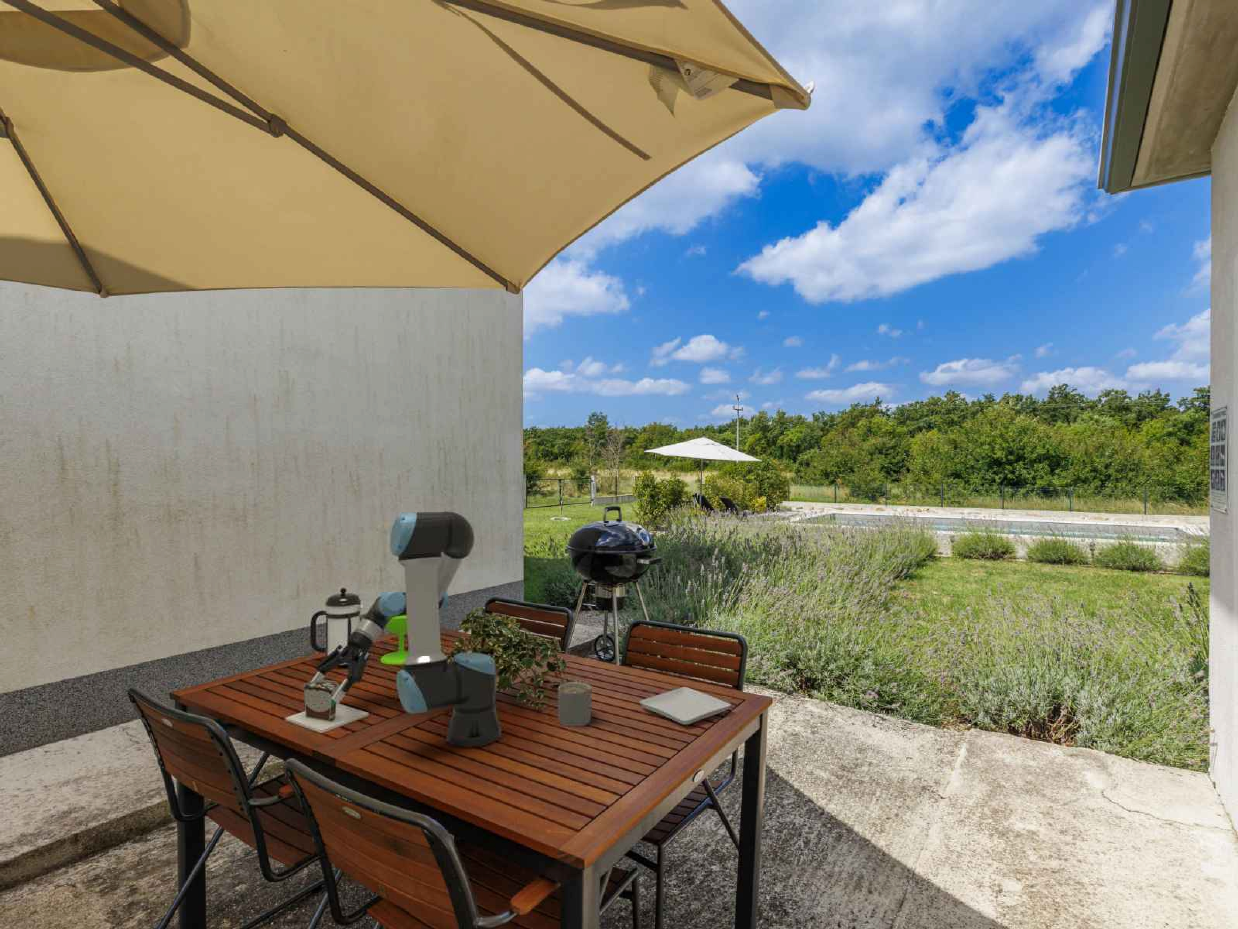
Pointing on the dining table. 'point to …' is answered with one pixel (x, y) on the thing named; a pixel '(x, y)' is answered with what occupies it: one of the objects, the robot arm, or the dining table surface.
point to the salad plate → (685, 705)
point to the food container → (320, 699)
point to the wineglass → (399, 627)
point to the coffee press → (337, 621)
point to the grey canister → (574, 704)
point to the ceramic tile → (341, 718)
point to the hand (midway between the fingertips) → (321, 697)
